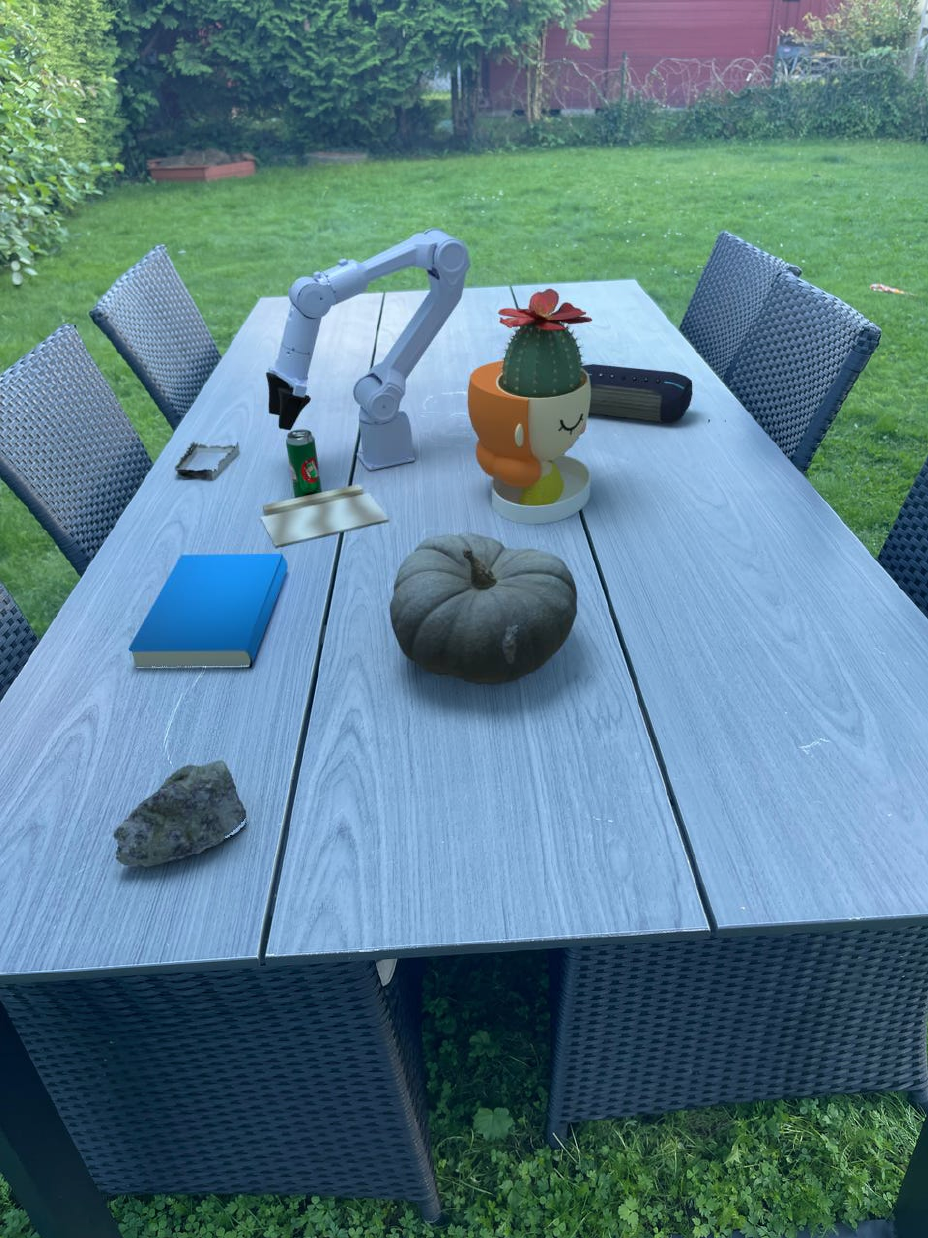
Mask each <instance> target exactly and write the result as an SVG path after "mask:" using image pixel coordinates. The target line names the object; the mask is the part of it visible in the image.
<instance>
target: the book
mask: <svg viewBox="0 0 928 1238" xmlns="http://www.w3.org/2000/svg"><path fill="white" fill-rule="evenodd" d="M288 568H289V567H288V562H287V560H286V558H285V557H284V555H283V553H239V554H238V553H236V554H235V553H234V554H230V553H229V554H181V555H180V556H179V557H178V559H177V561H176V563H175V565H174V566H173V568H172V570H171V572H170V574H169V576H168V577H167V579H166V581H165V583H164V584H163V586H162V588H161V589H160V592H159V594H158V595H157V597H156V599H155V601H154V602H153V604H152V606H151V608H150V610H149V611H148V613H147V614H146V617H145V618H144V620H143V622H142V624H141V626H140V627H139V629H138V632H137V633H136V634H135V635H134V638H133V639H132V642H131V643H130V645H129V647H128V651H129V652H132V653H131V654H132V657H133V660H134V664H135V666H136V668H137V667H152V666H153V667H154V666H155V667H162V666H163V667H164V666H165V667H166V666H167V667H177V666H179V667H180V666H181V667H185V666H187V667H188V666H189V667H190V666H191V667H192V666H241V665H242V666H244V665H245V666H246V665H249V666H251V664H253V663H254V660H255V657H256V655H257V654H258V653H257V651H258V649H259V646H260V644H261V641H262V638H263V636H264V633H265V631H266V628H267V625H268V623H269V619H270V617H271V616H272V615H271V614H272V611H273V609H274V608H275V607H274V606H275V604H276V601H277V599H278V595H279V593H280V590H281V587H282V585H283V582H284V579H285V577H286V574H287V571H288Z"/></svg>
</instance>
